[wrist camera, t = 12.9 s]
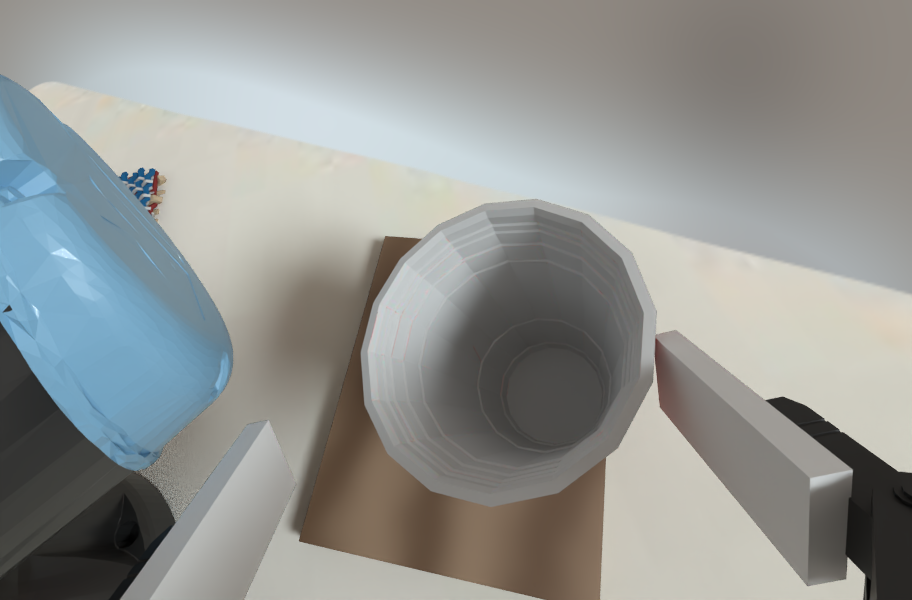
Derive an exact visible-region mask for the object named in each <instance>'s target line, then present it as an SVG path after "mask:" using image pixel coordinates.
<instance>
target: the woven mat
mask: <svg viewBox="0 0 912 600" xmlns="http://www.w3.org/2000/svg"><path fill="white" fill-rule="evenodd" d="M144 171H145V170H144V169H143V168H140V169H139V170H138V173H133V176H132V177H129V178H127V176H128V173H127V172H123V173H122V175H121V177H119V178H120V179H121V180H122V181H123V183H124V184H125V185H126V186H127V187H128V188H129V189H130V191H131V192H132V193H133V194H134V195H135V196H136V198H137V199H138V200H139V201H140V202H141V203H142V205H143V206H144V207H145V208H146V209H147V211H148V212H149V213H150V214H151V216H152V217H153V218H154V215H156V214H159V209H155V210H153V209H154V208H155V207H157V205H158V204H160V203H161V202H162V198H163V197H160V196H158V195H161V194H164V193H165V190H161V191H157V186H159V185H162V184H163V183H165V182H166V178H165V177H164V176H158V174H159V172H157V171H155V169H153V168H152V169H150V170H149V173H147V174H146V175H145V176H144ZM135 180H136V181H135ZM134 181H135V182H134ZM149 190H150V192H149ZM155 220H156V222H157V221H158V219H155Z"/></svg>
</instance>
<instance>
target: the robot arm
mask: <svg viewBox="0 0 912 600" xmlns="http://www.w3.org/2000/svg"><path fill="white" fill-rule="evenodd" d="M655 364H656V373H657V383H658V393H659V403H660V408H661V409H662V410H663V411H664V413H665V414H666V415H667V416H668V418H669V419H670V420H671V421H672V422H673V424H674V425H675V426H676V427H677V428H678V430H679V431H680V432H681V433H682V435H683V436H684V437H685V438H686V439H687V441H688V442H689V443H690V444H691V445H692V447H693V448H694V449H695V450H696V452H697V453H698V454H699V455H700V456H701V458H702V459H703V460H704V461H705V462H706V464H707V465H708V466H709V467H710V468H711V470H712V471H713V472H714V473H715V475H716V476H717V477H718V478H719V479H720V481H721V482H722V483H723V484H724V485H725V487H726V488H727V489H728V490H729V492H730V493H731V494H732V495H733V496H734V498H735V499H736V500H737V501H738V502H739V504H740V505H741V506H742V507H743V509H744V510H745V511H746V512H747V513H748V515H749V516H750V517H751V518H752V519H753V521H754V522H755V523H756V524H757V526H758V527H759V528H760V529H761V530H762V532H763V533H764V534H765V535H766V536H767V538H768V539H769V540H770V541H771V543H772V544H773V545H774V546H775V547H776V549H777V550H778V551H779V552H780V553H781V555H782V556H783V557H784V558H785V559H786V561H787V562H788V563H789V564H790V566H791V567H792V568H793V569H794V570H795V572H796V573H797V574H798V575H799V576H800V578H801V579H802V580H803V581H804V583H805V584H806V585H807V586H811V585H817V584H822V583H827V582H833V581H838V580H844V579H846V572H847V557H848V558H849V559H850V560H851V561H852V562H853V563H854V564H855V565H856V566H857V567H858V568H859V569H860V570H861V571H862V572H863V573H864V574H865V586H864V598H863V600H912V473H907V472H898V471H897V470H895V469H894V468H892V467H891V466H890V465H888V464H887V463H885V462H884V461H883V460H881V459H880V458H878V457H877V456H876V455H874V454H873V453H871V452H870V451H869V450H867V449H866V448H864V447H863V446H862V445H860V444H859V443H857V442H856V441H855V440H853V439H852V438H850V437H849V436H848V435H846V434H845V433H843V432H840V431H839V429H838V428H836V427H835V426H834V425H832V424H831V423H829V422H828V421H827V422H826V421H825V420H824V418H822V417H821V416H820V415H818V414H817V413H815V412H814V411H813V410H811V409H810V408H808V407H807V406H805V405H803V404H800V403H798V402H795V401H793V400H790V399H787V398H785V397H779V398H774V399H769V400H764V399H763V398H761V397H760V396H759V395H758V394H756V393H755V392H754V391H753V390H751V389H750V388H749V387H748V386H746V385H745V384H744V383H742V382H741V381H740V380H739V379H737V378H736V377H735V376H734V375H732V374H731V373H730V372H729V371H727V370H726V369H725V368H724V367H722V366H721V365H720V364H718V363H717V362H716V361H715V360H713V359H712V358H711V357H710V356H708V355H707V354H706V353H705V352H703V351H702V350H701V349H699V348H698V347H697V346H696V345H694V344H693V343H692V342H691V341H689V340H688V339H687V338H686V337H684V336H683V335H682V334H680V333H679V332H678V331H677V330H675V331H670V332H666V333H661V334H656V335H655ZM232 367H233V349H232V344H231V340H230V336H229V333H228V330H227V328H226V325H225V323H224V321H223V319H222V317H221V315H220V313H219V311H218V309H217V307H216V305H215V304H214V302H213V300H212V299H211V297H210V295H209V294H208V292H207V290H206V289H205V287H204V286H203V284H202V283H201V281H200V280H199V278H198V277H197V275H196V274H195V272H194V271H193V269H192V268H191V266H190V265H189V264H188V262H187V261H186V260H185V258H184V257H183V255H182V254H181V253H180V251H179V250H178V249H177V247H176V246H175V245H174V243H173V242H172V241H171V239H170V238H169V237H168V235H167V234H166V233H165V232H164V230H163V229H162V228H161V227H160V225H159V224H158V223H157V222H156V220H155V219H154V218H153V217H152V216H151V214H150V213H149V212H148V211H147V209H146V208H145V207H144V206H143V205H142V203H141V202H140V201H139V200H138V199H137V198H136V196H135V195H134V194H133V193H132V192H131V191H130V189H129V188H128V187H127V186H126V185H125V184H124V183H123V181H122V180H121V179H120V178H119V177H118V176H117V175H116V174H115V173H114V171H113V170H112V169H111V168H110V167H109V166H108V165H107V164H106V163H105V162H104V161H103V160H102V159H101V158H100V156H99V155H98V154H97V153H96V152H95V151H94V150H93V149H92V148H91V147H90V146H89V145H88V144H87V143H86V142H85V141H84V140H83V139H82V138H81V137H80V136H79V135H78V134H77V133H76V132H75V131H73V130H72V129H71V128H70V127H68V126H67V125H65V124H63V123H62V122H61V121H60V120H59V119H58V118H57V117H56V116H55V115H54V114H53V113H52V112H51V111H50V110H49V109H48V108H47V107H46V106H45V105H44V104H43V103H42V102H41V101H40V100H39V99H38V98H37V97H35V96H34V95H33V94H32V93H30V92H29V91H28V90H26V89H25V88H23V87H22V86H21V85H19V84H17V83H16V82H14V81H12V80H11V79H9V78H7V77H5V76H2V75H1V74H0V600H244V598H245V596H246V594H247V592H248V590H249V587H250V585H251V583H252V581H253V579H254V576H255V574H256V572H257V570H258V567H259V565H260V563H261V561H262V559H263V556H264V554H265V552H266V550H267V548H268V545H269V543H270V541H271V539H272V536H273V534H274V532H275V530H276V528H277V525H278V523H279V521H280V519H281V517H282V514H283V512H284V510H285V508H286V506H287V503H288V501H289V499H290V497H291V494H292V492H293V490H294V488H295V486H296V482H295V479H294V477H293V475H292V473H291V470H290V468H289V466H288V463H287V461H286V459H285V456H284V454H283V452H282V449H281V447H280V445H279V443H278V440H277V438H276V436H275V433H274V431H273V429H272V426H271V424H270V422H269V420H265V421H261V422H256V423H252V424H247V426H246V427H245V428H244V430H243V431H242V433H241V434H240V435H239V437H238V438H237V439H236V441H235V442H234V444H233V445H232V446H231V448H230V449H229V450H228V452H227V453H226V455H225V456H224V457H223V459H222V460H221V461H220V463H219V464H218V466H217V467H216V468H215V470H214V471H213V472H212V474H211V475H210V477H209V478H208V479H207V481H206V482H205V483H204V485H203V486H202V488H201V489H200V490H199V492H198V493H197V494H196V496H195V497H194V499H193V500H192V501H191V503H190V504H189V505H188V507H187V508H186V510H185V511H184V512H183V514H182V515H181V516H180V518H179V519H178V521H177V522H176V523H175V521H174V518H173V515H172V513H171V510H170V508H169V506H168V504H167V503H166V501H165V499H164V498H163V496H162V495H161V494H160V493H159V491H158V490H157V489H156V488H155V487H154V486H153V485H152V484H151V483H150V482H148V481H147V480H146V479H144V478H143V477H141V476H140V475H138V474H136V473H134V472H133V471H138V470H140V469H146V468H147V467H149V466H150V465H152V464H153V463H154V462H155V461H156V460H157V459H158V458H159V457H160V456H161V453H162V450H163V447H164V445H166V444H167V443H168V442H169V441H170V440H171V439H172V438H173V437H175V436H176V435H177V434H178V433H179V432H180V431H181V430H182V429H184V428H185V427H186V426H187V425H188V424H189V423H190V422H192V421H193V420H194V419H195V418H196V417H197V416H198V415H199V414H201V413H202V412H203V411H204V410H205V409H206V408H207V407H208V406H210V405H211V404H212V403H213V402H214V401H215V400H216V399H217V398H218V397H219V395H220V394H221V393H222V391H223V390H224V389H225V387H226V385H227V383H228V381H229V378H230V376H231V372H232Z"/></svg>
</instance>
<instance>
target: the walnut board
mask: <svg viewBox="0 0 912 600" xmlns="http://www.w3.org/2000/svg"><path fill="white" fill-rule="evenodd" d="M421 240H422V239H416V238H403V237H389V236H385V239H384V243H383V246H382V250H381V253H380V257H379V260H378V264H377V267H376V271H375V274H374V278H373V281H372V285H371V288H370V292H369V295H368V299H367V302H366V306H365V310H364V313H363V317H362V320H361V324H360V327H359V331H358V334H357V338H356V341H355V345H354V348H353V352H352V355H351V359H350V362H349V366H348V369H347V373H346V377H345V380H344V384H343V387H342V391H341V394H340V398H339V401H338V405H337V408H336V412H335V415H334V419H333V422H332V426H331V429H330V433H329V436H328V440H327V443H326V447H325V451H324V454H323V458H322V461H321V465H320V468H319V472H318V475H317V479H316V482H315V486H314V489H313V493H312V496H311V500H310V503H309V507H308V510H307V514H306V517H305V521H304V525H303V528H302V532H301V535H300V539H299V541H300V542H304V543H308V544H312V545H316V546H321V547H325V548H329V549H333V550H338V551H342V552H346V553H350V554H354V555H359V556H363V557H367V558H371V559H376V560H380V561H384V562H388V563H392V564H397V565H401V566H405V567H409V568H414V569H418V570H422V571H426V572H431V573H435V574H439V575H443V576H447V577H452V578H456V579H460V580H464V581H469V582H473V583H477V584H481V585H485V586H490V587H494V588H498V589H502V590H507V591H511V592H515V593H519V594H524V595H528V596H532V597H536V598H540V599H545V600H600V583H601V560H602V536H603V513H604V489H605V466H606V457H605V458H604V459H603V460H601V461H600V462H599V463H597V464H596V465H595V466H594V467H592V468H591V469H590V470H588V471H587V472H586V473H584V474H583V475H582V476H580V477H579V478H578V479H576V480H575V481H574V482H572V483H571V484H570V485H568V486H567V487H566V488H565V489H563V490H562V491H561V492H559V493H557V494H552V495H547V496H542V497H537V498H532V499H528V500H523V501H518V502H513V503H508V504H503V505H499V506H494V507H489V506H485V505H481V504H477V503H474V502H470V501H466V500H462V499H458V498H455V497H451V496H447V495H443V494H439V493H436V492H432V491H430V490H429V489H428V488H426V487H425V486H424V485H423V484H422V483H421V482H420V481H418V480H417V479H416V478H415V477H414V476H413V475H411V474H410V473H409V472H408V471H407V470H406V469H404V468H403V467H402V466H401V465H400V464H399V463H398V462H396V461H395V460H394V459H393V458H392V457H391V456H389V455H388V454H387V452H386V449H385V447H384V445H383V443H382V441H381V439H380V437H379V435H378V433H377V430H376V428H375V426H374V424H373V422H372V420H371V418H370V416H369V413H368V411H367V409H366V407H365V405H364V392H363V378H362V365H361V349H362V345H363V341H364V337H365V333H366V329H367V326H368V322H369V318H370V314H371V310H372V306H373V302H374V301H375V299H376V297H377V296H378V294H379V292H380V291H381V289H382V288H383V286H384V284H385V283H386V281H387V279H388V278H389V276H390V274H391V273H392V271H393V270H394V268H395V266H396V265H397V263H398V261H399V260H400V258H402V257H403V256H404V255H405V254H406V253H407V252H408V251H409V250H411V249H412V248H413V247H414V246H415V245H416V244H417V243H418V242H419V241H421Z"/></svg>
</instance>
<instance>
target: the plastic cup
mask: <svg viewBox="0 0 912 600" xmlns="http://www.w3.org/2000/svg"><path fill="white" fill-rule="evenodd" d="M656 316H657V311H656V308H655V306H654V304H653V301H652V299H651V296H650V294H649V292H648V289H647V287H646V285H645V282H644V280H643V277H642V275H641V273H640V270H639V268H638V266H637V263H636V261H635V258H634V256H633V254H632V252H631V251H630V250H628V249H627V248H626V247H625V246H624V245H623V244H622V243H620V242H619V241H618V240H617V239H616V238H615V237H614V236H612V235H611V234H610V233H609V232H608V231H607V230H606V229H605V228H603V227H602V226H601V225H600V224H599V223H598V222H597V221H595V220H594V219H593V218H592V217H591V216H590V215H588V214H585V213H582V212H578V211H575V210H572V209H568V208H565V207H562V206H558V205H555V204H552V203H548V202H545V201H542V200H538V199H532V200H521V201H509V202H498V203H487V204H483V205H481V206H479V207H476V208H474V209H472V210H470V211H468V212H465V213H463V214H461V215H459V216H457V217H454V218H452V219H450V220H448V221H445V222H443V223H441V224H439V225H437V226H436V227H435V228H434V229H433V230H432V231H431V232H430V233H428V234H427V235H426V236H425V237H424V238H423V239H422V240H421V241H419V242H418V243H417V244H416V245H415V246H414V247H413V248H412V249H411V250H409V251H408V252H407V253H406V254H405V255H404V256H403V257H402V258H400V260H399V261H398V263H397V265H396V266H395V268H394V270H393V271H392V273H391V274H390V276H389V278H388V279H387V281H386V283H385V284H384V286H383V288H382V289H381V291H380V292H379V294H378V296H377V297H376V299H375V301H374V302H373V306H372V310H371V314H370V318H369V322H368V326H367V329H366V333H365V337H364V341H363V345H362V349H361V365H362V378H363V392H364V405H365V407H366V409H367V411H368V413H369V416H370V418H371V420H372V422H373V424H374V426H375V428H376V430H377V433H378V435H379V437H380V439H381V441H382V443H383V445H384V447H385V449H386V452H387V454H388V455H389V456H391V457H392V458H393V459H394V460H395V461H396V462H398V463H399V464H400V465H401V466H402V467H403V468H404V469H406V470H407V471H408V472H409V473H410V474H411V475H413V476H414V477H415V478H416V479H417V480H418V481H420V482H421V483H422V484H423V485H424V486H425V487H426V488H428V489H429V490H430V491H432V492H436V493H439V494H443V495H447V496H451V497H455V498H458V499H462V500H466V501H470V502H474V503H477V504H481V505H485V506H489V507H494V506H499V505H503V504H508V503H513V502H518V501H523V500H528V499H532V498H537V497H542V496H547V495H552V494H557V493H559V492H561V491H562V490H563V489H565V488H566V487H567V486H568V485H570V484H571V483H572V482H574V481H575V480H576V479H578V478H579V477H580V476H582V475H583V474H584V473H586V472H587V471H588V470H590V469H591V468H592V467H594V466H595V465H596V464H597V463H599V462H600V461H601V460H603V459H604V458H605V457H607V456H608V455H609V454H611V453H612V452H613V451H615V450H616V449H617V448H618V447H619V445H620V443H621V441H622V439H623V437H624V435H625V434H626V432H627V430H628V428H629V426H630V424H631V422H632V420H633V418H634V417H635V415H636V413H637V411H638V409H639V407H640V405H641V403H642V402H643V400H644V398H645V396H646V394H647V392H648V390H649V388H650V387H651V385H652V383H653V373H654V354H655V335H656Z"/></svg>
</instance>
